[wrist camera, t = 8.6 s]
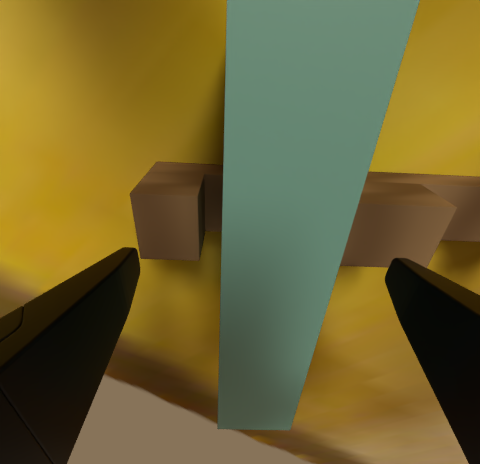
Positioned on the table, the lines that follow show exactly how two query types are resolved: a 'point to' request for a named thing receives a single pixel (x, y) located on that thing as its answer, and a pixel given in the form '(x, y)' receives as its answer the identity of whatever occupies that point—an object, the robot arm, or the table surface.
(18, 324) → the robot arm
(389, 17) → the teal plate
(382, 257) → the walnut rail
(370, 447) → the table surface
